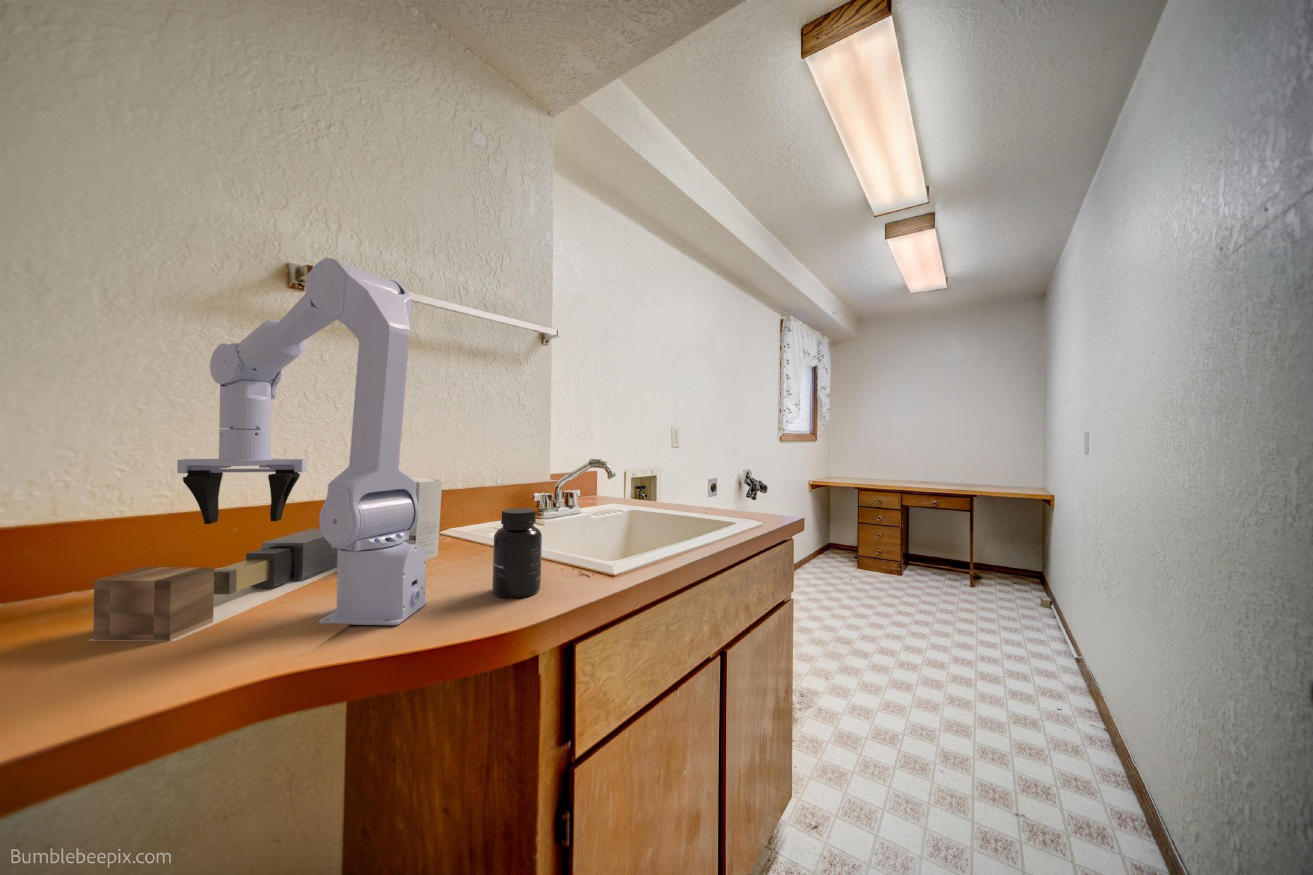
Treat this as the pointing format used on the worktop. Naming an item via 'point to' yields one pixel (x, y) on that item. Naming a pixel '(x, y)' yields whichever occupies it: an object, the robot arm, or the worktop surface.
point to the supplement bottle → (517, 555)
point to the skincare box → (427, 516)
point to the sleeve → (307, 553)
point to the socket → (153, 603)
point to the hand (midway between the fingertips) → (244, 521)
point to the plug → (256, 570)
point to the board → (246, 600)
